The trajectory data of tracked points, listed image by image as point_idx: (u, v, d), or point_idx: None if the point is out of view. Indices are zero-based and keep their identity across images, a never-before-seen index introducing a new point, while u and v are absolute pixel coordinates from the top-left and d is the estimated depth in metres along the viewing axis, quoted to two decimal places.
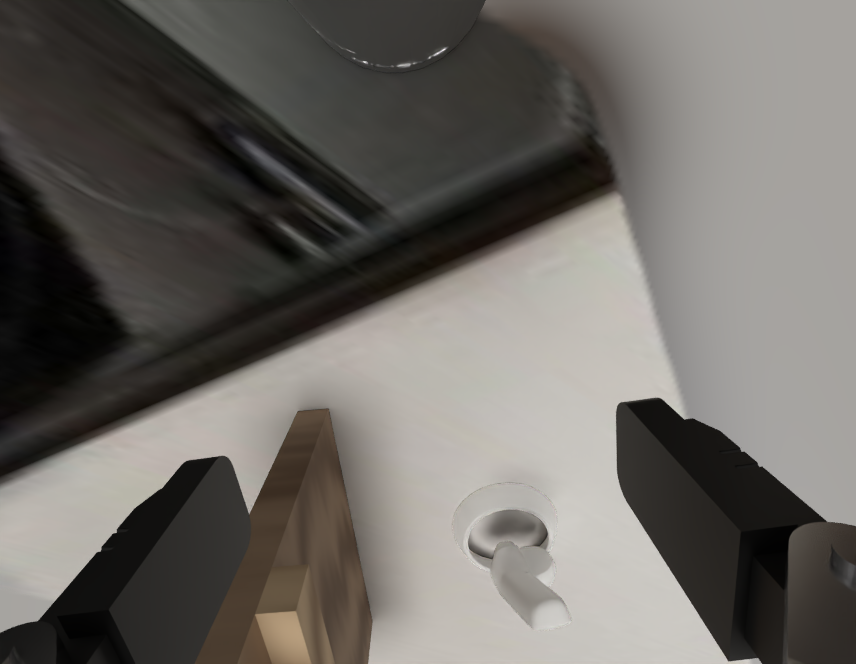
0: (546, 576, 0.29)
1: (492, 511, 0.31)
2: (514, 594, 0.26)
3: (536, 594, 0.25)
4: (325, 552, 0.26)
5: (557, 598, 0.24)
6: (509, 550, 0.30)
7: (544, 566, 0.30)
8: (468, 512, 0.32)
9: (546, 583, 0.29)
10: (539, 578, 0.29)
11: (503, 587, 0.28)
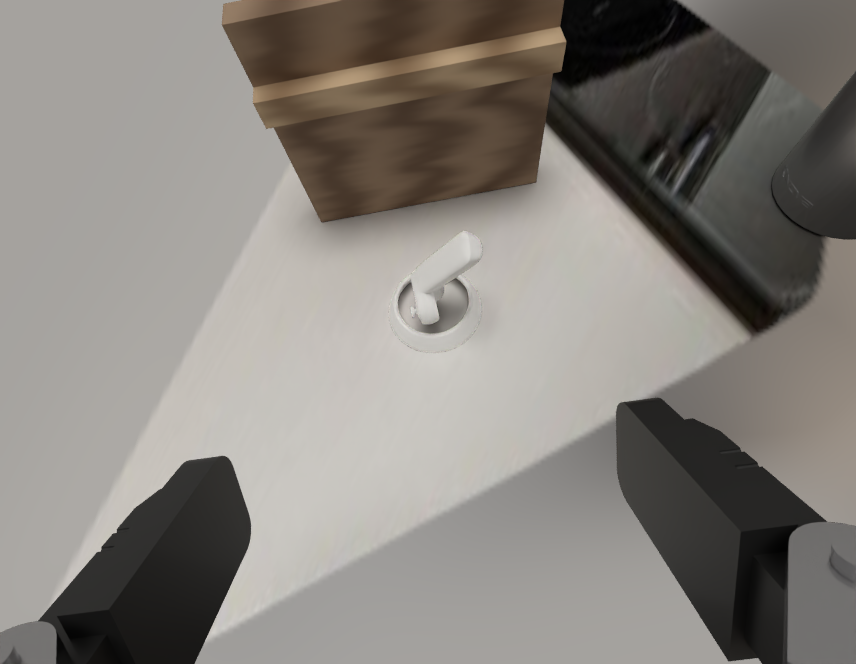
0: (433, 304, 0.33)
1: (466, 283, 0.36)
2: None
3: None
4: (473, 140, 0.36)
5: None
6: (441, 287, 0.35)
7: None
8: None
9: (426, 303, 0.33)
10: (432, 297, 0.33)
11: None
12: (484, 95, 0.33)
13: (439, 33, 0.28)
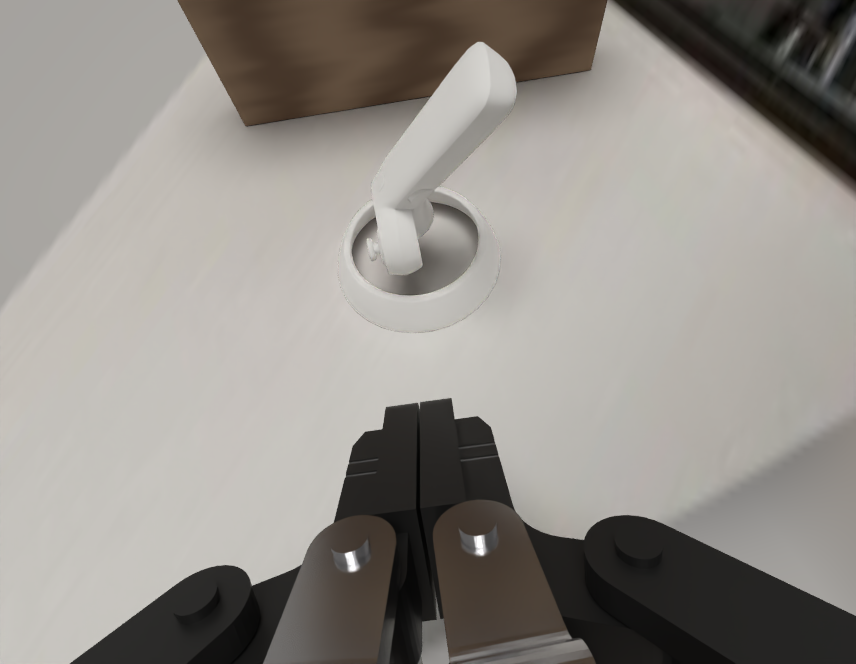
0: (409, 232, 0.17)
1: (474, 211, 0.20)
2: None
3: None
4: None
5: (514, 101, 0.13)
6: (429, 210, 0.19)
7: (417, 239, 0.17)
8: None
9: (397, 229, 0.17)
10: (408, 218, 0.17)
11: None
12: None
13: None
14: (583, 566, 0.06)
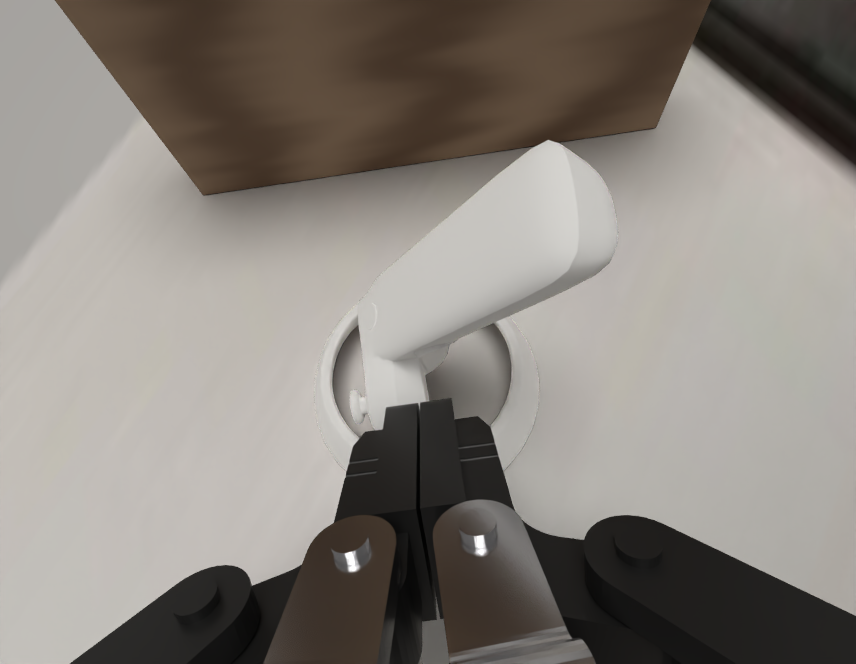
0: (415, 397, 0.11)
1: (505, 325, 0.15)
2: None
3: None
4: None
5: (613, 249, 0.07)
6: None
7: None
8: None
9: (395, 394, 0.11)
10: (413, 374, 0.11)
11: None
12: None
13: None
14: (583, 566, 0.06)
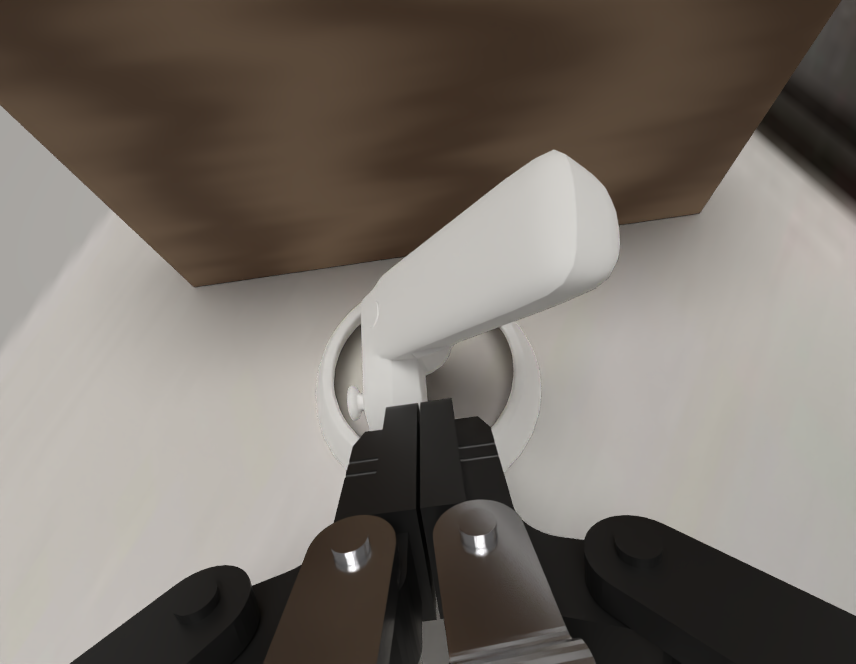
0: (410, 397, 0.11)
1: (510, 331, 0.14)
2: None
3: None
4: (587, 91, 0.12)
5: (613, 263, 0.07)
6: None
7: None
8: None
9: (392, 394, 0.11)
10: (411, 375, 0.11)
11: None
12: None
13: None
14: (583, 566, 0.06)
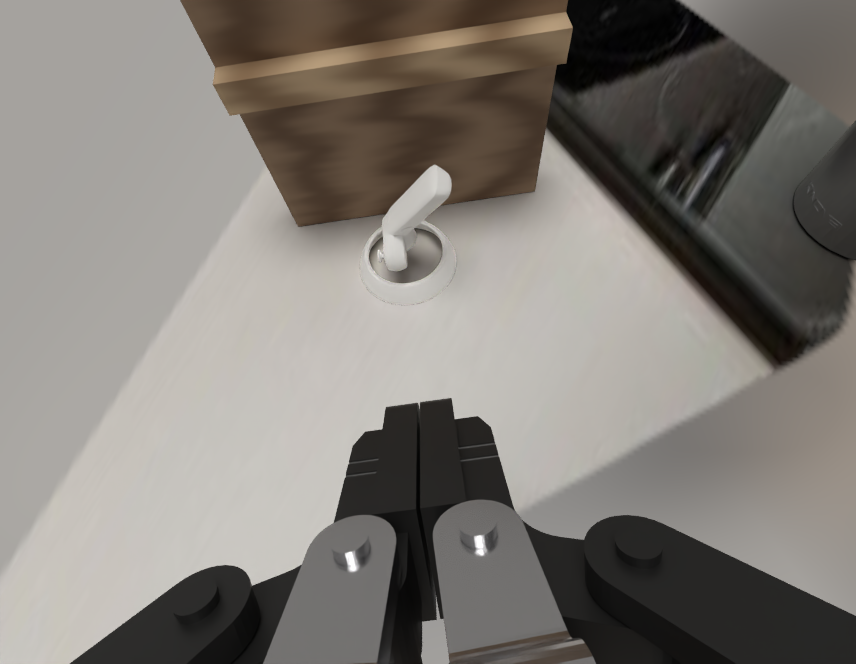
0: (400, 248, 0.31)
1: (442, 237, 0.35)
2: None
3: None
4: (466, 141, 0.33)
5: None
6: (414, 236, 0.33)
7: (404, 252, 0.32)
8: None
9: (393, 246, 0.31)
10: (400, 241, 0.31)
11: None
12: (479, 89, 0.29)
13: (428, 13, 0.25)
14: (583, 566, 0.06)
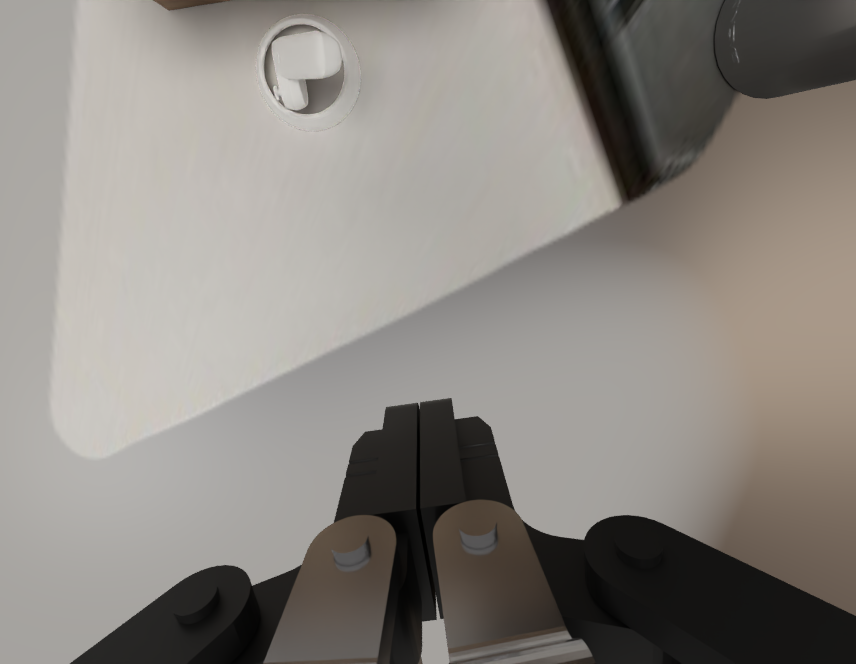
0: (297, 93, 0.30)
1: (342, 51, 0.32)
2: None
3: None
4: None
5: (340, 66, 0.26)
6: None
7: (303, 94, 0.31)
8: (334, 28, 0.32)
9: (290, 92, 0.30)
10: (296, 84, 0.30)
11: None
12: None
13: None
14: (583, 566, 0.06)
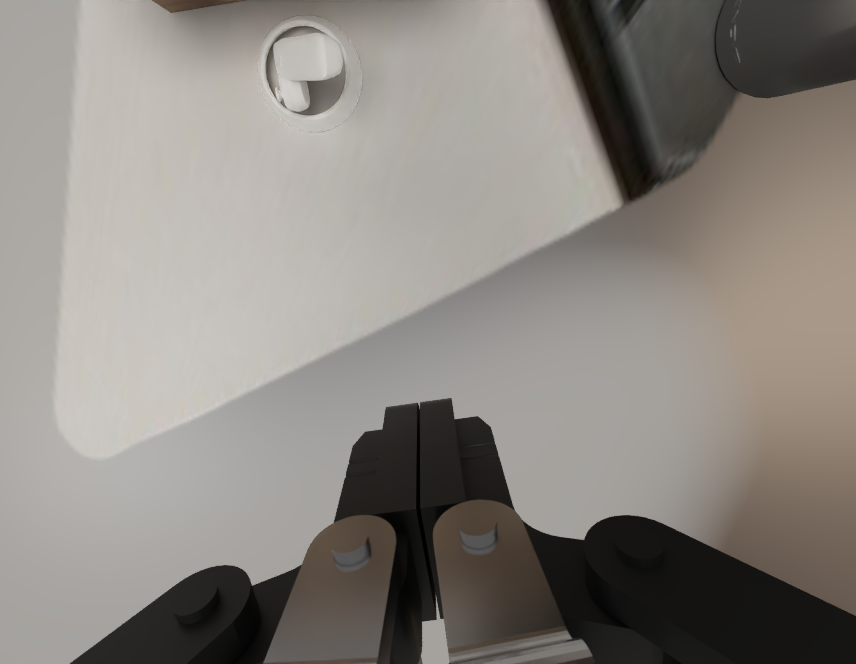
0: (299, 94, 0.30)
1: (343, 53, 0.32)
2: None
3: None
4: None
5: None
6: None
7: (304, 95, 0.31)
8: (335, 29, 0.32)
9: (291, 93, 0.30)
10: (297, 86, 0.30)
11: None
12: None
13: None
14: (583, 566, 0.06)
